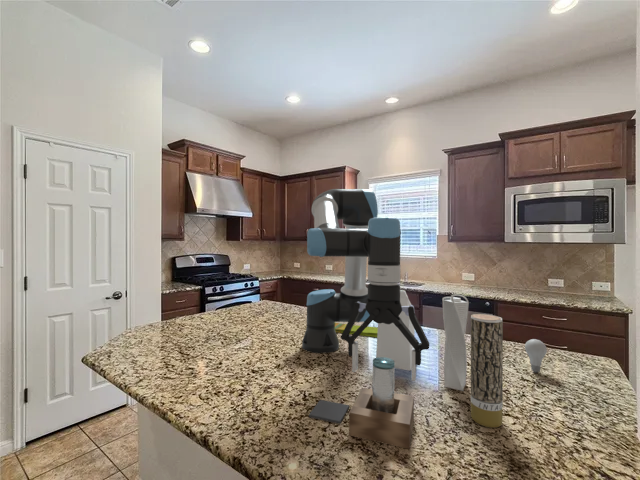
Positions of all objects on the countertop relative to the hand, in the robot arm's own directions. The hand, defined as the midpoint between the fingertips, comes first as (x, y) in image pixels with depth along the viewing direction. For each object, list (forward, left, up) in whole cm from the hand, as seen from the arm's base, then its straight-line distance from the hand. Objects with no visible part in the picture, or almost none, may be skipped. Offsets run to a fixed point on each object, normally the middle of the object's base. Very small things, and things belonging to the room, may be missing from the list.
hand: (383, 374), depth 73 cm
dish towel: (-26, +77, -13) cm, 83 cm away
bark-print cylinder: (+23, +11, -12) cm, 28 cm away
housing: (0, 0, -12) cm, 12 cm away
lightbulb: (+43, +50, -12) cm, 67 cm away
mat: (-14, +1, -12) cm, 18 cm away
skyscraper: (+17, +29, -12) cm, 36 cm away
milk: (-2, +42, -12) cm, 44 cm away
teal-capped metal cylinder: (0, 0, -12) cm, 12 cm away
